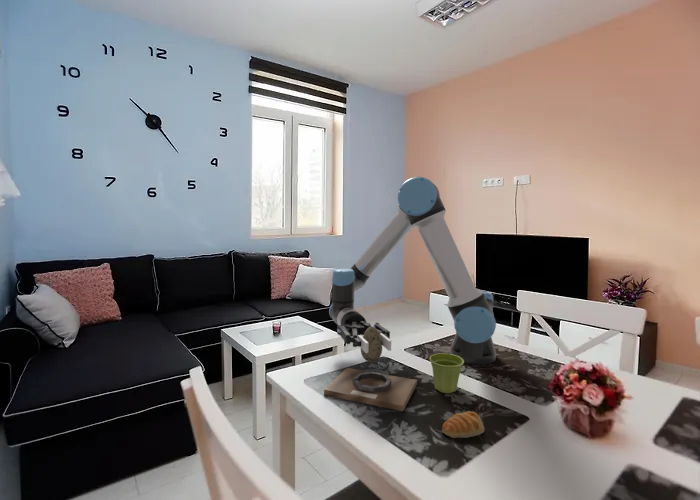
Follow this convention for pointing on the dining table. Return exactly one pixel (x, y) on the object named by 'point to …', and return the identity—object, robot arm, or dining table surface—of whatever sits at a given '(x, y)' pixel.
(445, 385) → the plant pot
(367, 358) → the decorative egg
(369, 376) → the ring socket
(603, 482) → the dining table surface
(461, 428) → the pastry
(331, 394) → the walnut board
